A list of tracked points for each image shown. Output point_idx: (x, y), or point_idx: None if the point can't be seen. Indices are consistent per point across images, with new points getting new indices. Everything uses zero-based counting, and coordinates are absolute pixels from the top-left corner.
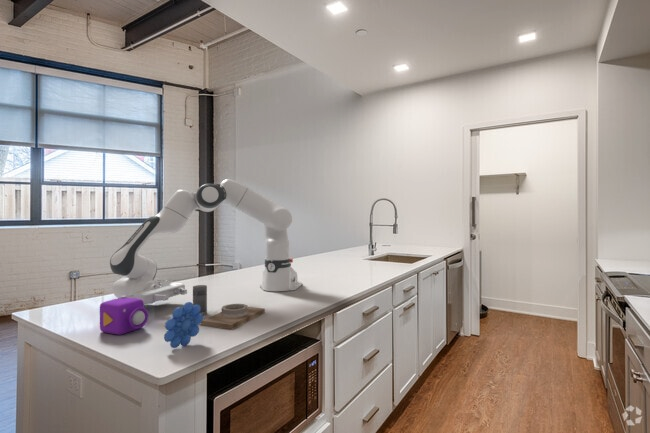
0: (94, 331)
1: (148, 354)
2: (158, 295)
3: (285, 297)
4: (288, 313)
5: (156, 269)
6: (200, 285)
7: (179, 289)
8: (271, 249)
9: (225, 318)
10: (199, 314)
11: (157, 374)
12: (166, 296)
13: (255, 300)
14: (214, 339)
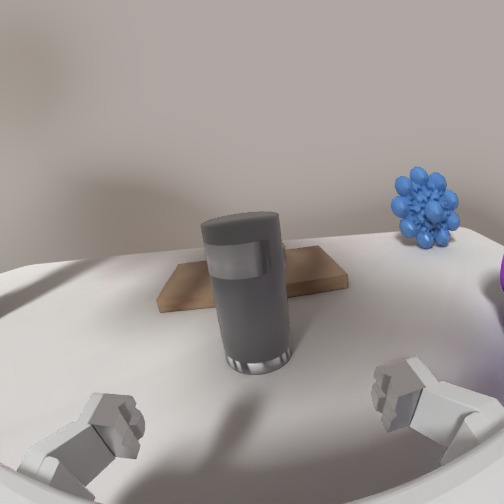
0: None
1: (479, 249)
2: (468, 390)
3: (47, 296)
4: (177, 259)
5: None
6: (216, 224)
7: (65, 467)
8: None
9: (294, 262)
10: (398, 196)
11: (466, 228)
12: (399, 362)
13: (58, 321)
14: (374, 246)
